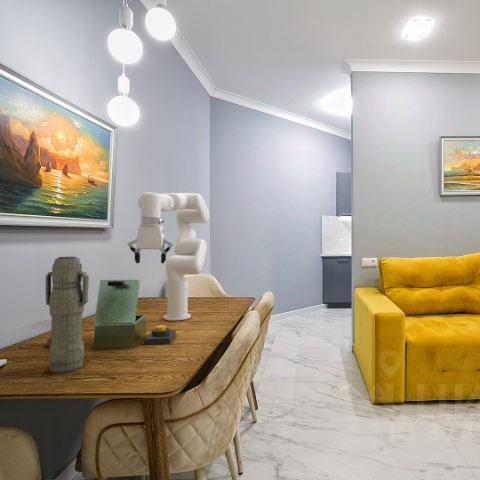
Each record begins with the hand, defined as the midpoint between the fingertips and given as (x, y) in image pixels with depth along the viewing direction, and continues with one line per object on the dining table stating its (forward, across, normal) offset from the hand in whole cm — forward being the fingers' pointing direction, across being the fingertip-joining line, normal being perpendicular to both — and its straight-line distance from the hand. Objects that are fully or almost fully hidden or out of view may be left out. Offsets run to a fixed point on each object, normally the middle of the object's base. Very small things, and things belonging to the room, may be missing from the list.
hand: (150, 263), depth 147 cm
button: (+27, -6, +8) cm, 28 cm away
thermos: (+30, +16, +34) cm, 48 cm away
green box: (+30, +8, +9) cm, 33 cm away
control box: (+30, -6, +8) cm, 32 cm away
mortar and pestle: (+30, +30, +9) cm, 44 cm away
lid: (+13, +8, +14) cm, 21 cm away
